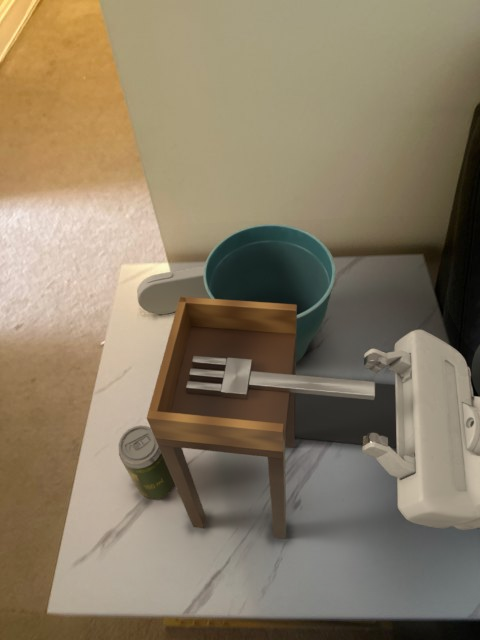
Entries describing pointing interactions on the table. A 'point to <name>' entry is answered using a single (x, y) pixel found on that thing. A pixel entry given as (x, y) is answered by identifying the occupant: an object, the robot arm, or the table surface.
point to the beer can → (145, 462)
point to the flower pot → (275, 273)
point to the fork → (266, 381)
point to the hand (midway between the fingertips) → (366, 397)
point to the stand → (222, 412)
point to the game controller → (170, 289)
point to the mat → (346, 417)
